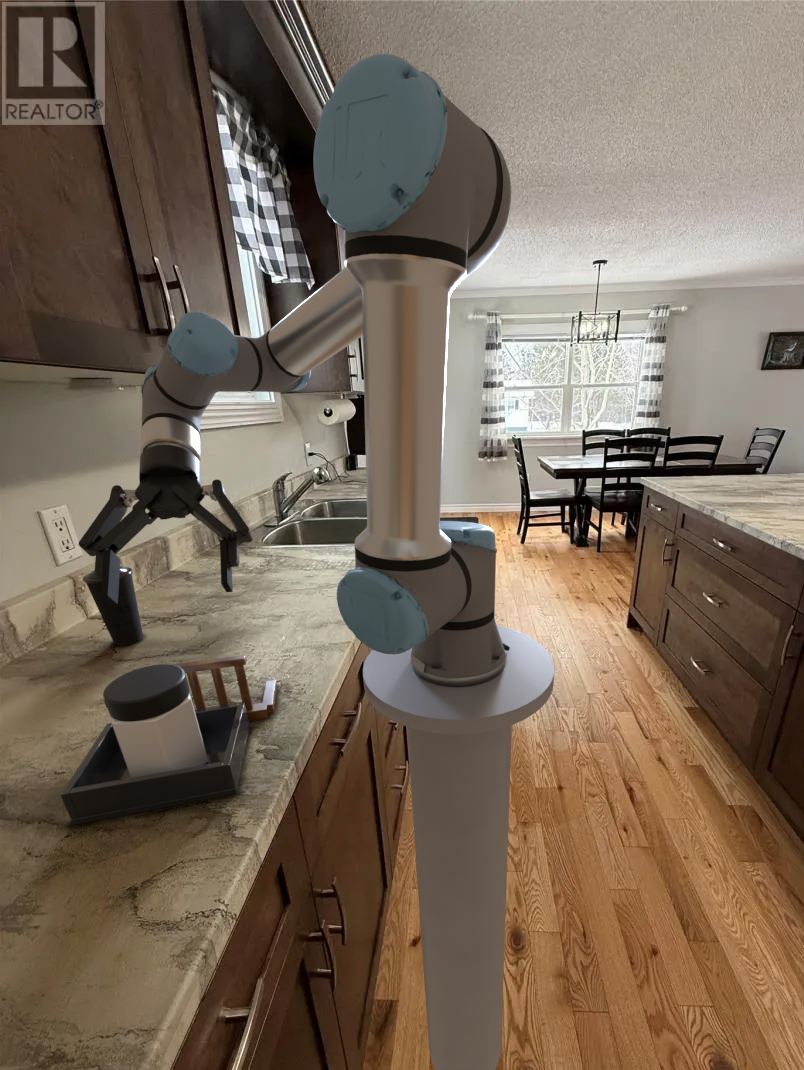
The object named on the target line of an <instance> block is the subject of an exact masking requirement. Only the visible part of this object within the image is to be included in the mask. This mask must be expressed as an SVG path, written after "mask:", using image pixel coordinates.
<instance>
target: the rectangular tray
mask: <svg viewBox="0 0 804 1070" xmlns="http://www.w3.org/2000/svg"><path fill="white" fill-rule="evenodd" d="M194 710H195V714H196V717H197V721H198V725H199V728H200V732H201V736H202V739H203V743H204V747H205V750H206V754H207V758H208V762H207V763H206V764H204V765H200V766H194V767H189V768H183V769H178V770H172V771H166V772H161V773H155V774H150V775H144V776H138V777H133V778H131V776H130V773H129V771H128V768H127V765H126V762H125V759H124V757H123V754H122V751H121V748H120V745H119V743H118V740H117V737H116V734H115V731H114V729H113V726H112V722H107V723H106V724H105V726H104V727H103V729H102V731H100V733H99V735H98V737H97V738H96V740H95V741H94V743H93V744H92V746H91V747H90V749H89V751H87V754H86V755H85V756H84V758H83V760H82V761H81V762H80V764H79V766H78V767H77V769H76V770H75V772H74V774H73V775H72V776H71V778H70V780H69V781H68V783H66V786H65V787H64V788H63V790H62V791H61V793H60V798H61V800H62V803H63V804H64V807H65V808H66V811H67V813H68V816H69V818H70V820H71V823H72V825H73V826H77V825H82V824H86V823H87V824H88V823H92V822H97V821H103V820H107V819H114V818H119V817H124V816H128V815H133V814H139V813H143V812H149V811H155V810H158V809H164V808H165V809H166V808H170V807H174V806H180V805H184V804H189V803H195V802H196V803H197V802H200V801H206V800H210V799H211V800H212V799H216V798H220V797H227V796H232V795H237V794H238V790H239V784H240V780H241V775H242V770H243V765H244V760H245V755H246V750H247V746H248V745H247V744H248V741H249V735H250V730H251V726H250V721H248V716H247V712H246V707H245V703H244V702H243V703H242V702H237V703H231V704H230V703H229V705H224V706H219V705H216V706H211V707H206V708H204V709H198V710H196V709H194Z"/></svg>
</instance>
